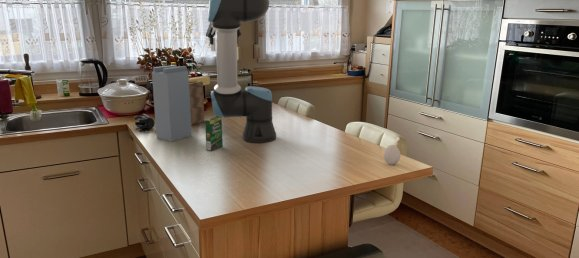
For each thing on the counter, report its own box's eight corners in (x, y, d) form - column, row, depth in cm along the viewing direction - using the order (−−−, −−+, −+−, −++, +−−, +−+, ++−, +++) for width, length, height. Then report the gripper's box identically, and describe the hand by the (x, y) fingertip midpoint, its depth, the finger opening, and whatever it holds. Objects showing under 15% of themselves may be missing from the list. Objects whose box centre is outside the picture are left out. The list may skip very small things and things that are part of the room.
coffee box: (211, 151, 182) (209, 120, 179) (205, 150, 183) (204, 119, 180) (223, 146, 189) (222, 116, 186) (217, 145, 190) (216, 115, 187)
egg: (387, 160, 171) (389, 141, 170) (402, 164, 168) (403, 144, 166) (380, 164, 167) (381, 145, 165) (395, 168, 163) (396, 148, 161)
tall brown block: (191, 118, 239) (189, 80, 234) (204, 121, 233) (202, 81, 228) (176, 122, 231) (174, 82, 226) (190, 125, 225) (187, 84, 220)
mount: (177, 132, 211) (172, 65, 203) (191, 135, 206) (188, 66, 198) (156, 137, 202) (151, 67, 194) (171, 141, 196) (166, 69, 188)
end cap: (155, 130, 216) (154, 116, 214) (140, 132, 212) (139, 118, 210) (149, 126, 224) (148, 112, 222) (135, 127, 220) (134, 114, 218)
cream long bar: (204, 83, 239) (204, 76, 238) (210, 84, 237) (209, 76, 236) (172, 88, 222) (172, 80, 221) (178, 89, 219) (177, 81, 218)
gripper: (238, 7, 231) (239, 48, 237) (197, 6, 214) (199, 51, 220) (247, 7, 226) (248, 49, 231) (206, 6, 209) (208, 52, 214)
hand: (224, 50), depth 226 cm, fingers open, 13 cm apart
